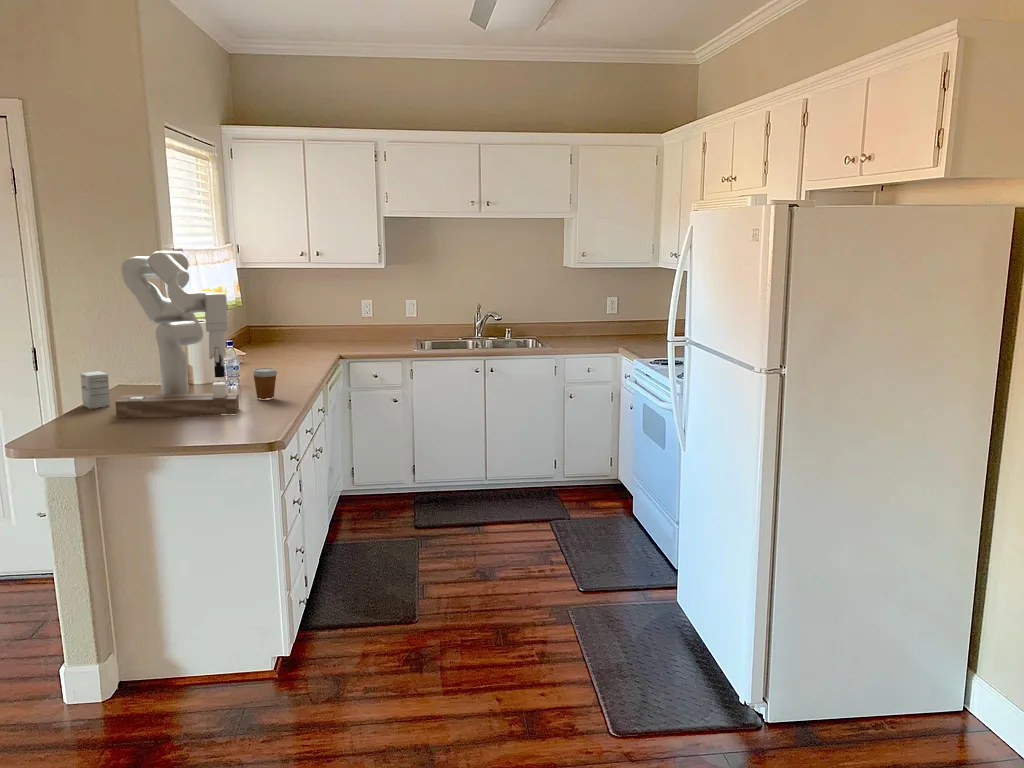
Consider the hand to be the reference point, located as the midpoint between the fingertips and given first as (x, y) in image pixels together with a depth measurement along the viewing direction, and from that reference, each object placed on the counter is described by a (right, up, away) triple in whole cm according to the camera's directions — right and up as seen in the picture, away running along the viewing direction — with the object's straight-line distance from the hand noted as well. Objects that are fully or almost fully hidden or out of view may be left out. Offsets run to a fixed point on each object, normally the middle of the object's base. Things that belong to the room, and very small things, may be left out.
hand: (219, 376), depth 279 cm
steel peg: (-28, -14, -5) cm, 31 cm away
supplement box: (-49, -11, +6) cm, 50 cm away
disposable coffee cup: (+8, -9, +28) cm, 30 cm away
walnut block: (-15, -13, 0) cm, 20 cm away
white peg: (-1, -8, +2) cm, 9 cm away
